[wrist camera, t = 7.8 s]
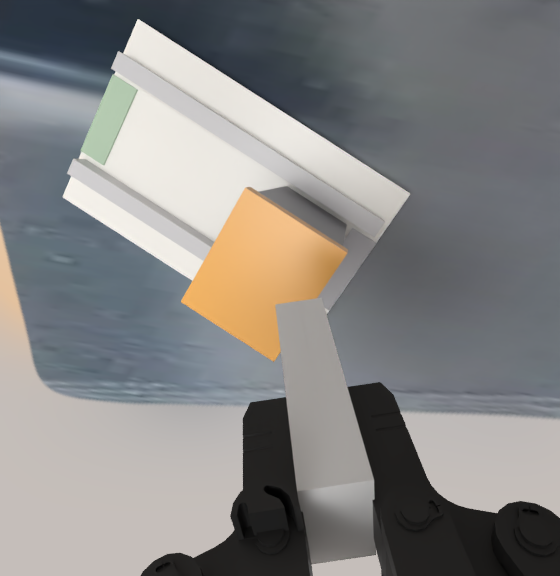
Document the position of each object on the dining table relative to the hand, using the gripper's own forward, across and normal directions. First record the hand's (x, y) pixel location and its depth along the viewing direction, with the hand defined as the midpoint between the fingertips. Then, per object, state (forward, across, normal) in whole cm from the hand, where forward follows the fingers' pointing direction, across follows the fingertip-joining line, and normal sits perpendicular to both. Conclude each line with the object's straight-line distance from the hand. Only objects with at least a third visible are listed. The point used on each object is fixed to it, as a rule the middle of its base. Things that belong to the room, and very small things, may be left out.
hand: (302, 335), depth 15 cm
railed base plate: (+21, -3, -2) cm, 21 cm away
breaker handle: (+17, +1, -5) cm, 18 cm away
